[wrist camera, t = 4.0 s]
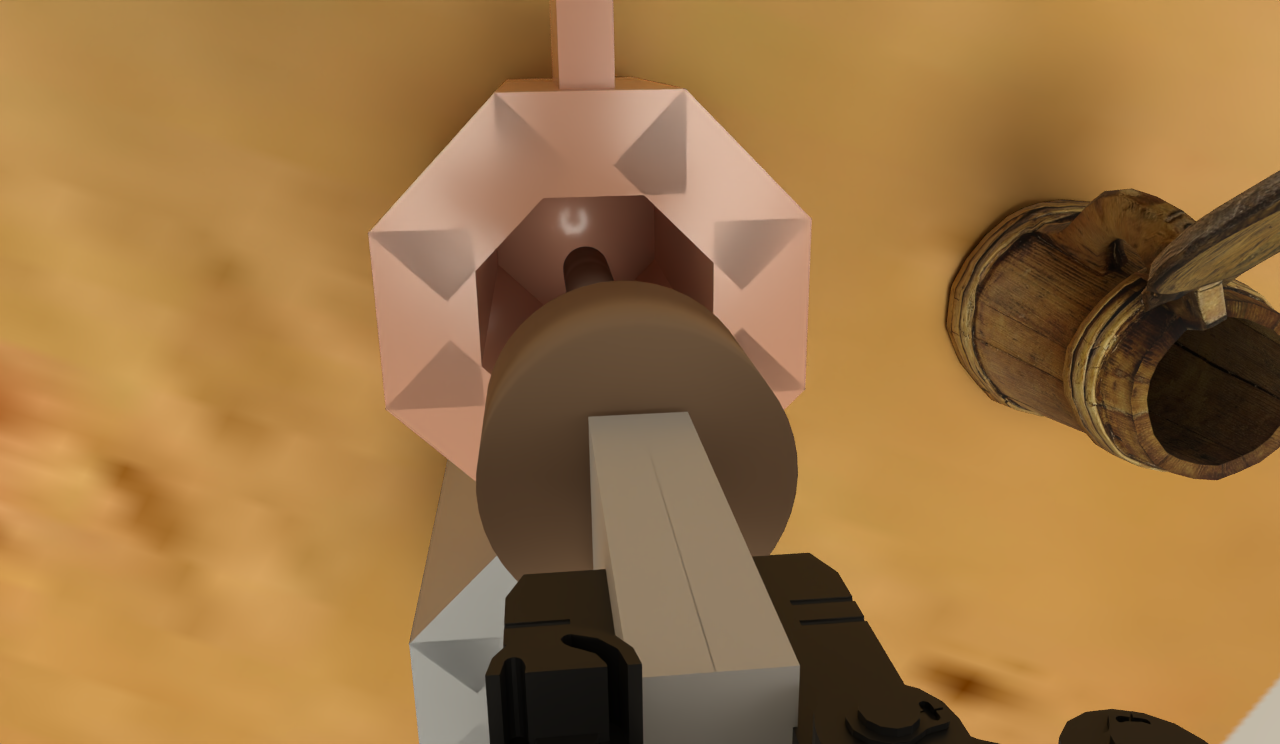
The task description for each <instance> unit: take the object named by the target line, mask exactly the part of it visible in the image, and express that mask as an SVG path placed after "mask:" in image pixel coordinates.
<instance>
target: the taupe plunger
mask: <svg viewBox="0 0 1280 744" xmlns="http://www.w3.org/2000/svg"><path fill="white" fill-rule="evenodd" d="M563 273H564V280H565V287H566V293H565V294H563V295H561V296H559V297H557V298H555V299H553V300H551V301H549V302H548V303H546V304H545V305H544V306H542V307H541V308H539V309H538V310H537V311H535V312H534V313H533V314H532V315H531V316H529V317H528V318H527V319H526V320H525V321H524V322H523V323H522V324H521V325H520V326H519V327H518V329H517V330H516V331H515V332H514V333H513V335H512V336H511V337H510V338H509V340H508V341H507V343H506V345H505V346H504V348H503V349H502V351H501V353H500V354H499V357H498V359H497V361H496V363H495V366H494V368H493V370H492V374H491V377H490V381H489V384H488V389H487V396H486V403H485V411H484V418H483V426H482V433H481V440H480V448H479V455H478V463H477V470H476V496H477V503H478V510H479V515H480V518H481V521H482V525H483V528H484V531H485V534H486V536H487V538H488V540H489V542H490V544H491V547H492V549H493V550H494V552H495V553H496V555H497V556H498V558H499V560H500V561H501V563H502V564H503V566H504V567H505V568H506V569H507V570H508V571H509V573H510V574H511V575H512V576H513V577H514V578H515V580H517V581H519V580H520V579H521V577H522V576H523V575H524V574H537V573H552V572H568V571H583V570H593V543H592V513H591V483H590V453H589V423H588V417H592V416H612V415H631V414H651V413H671V412H688V413H689V416H690V418H691V420H692V423H693V425H694V427H695V429H696V432H697V434H698V436H699V438H700V441H701V443H702V445H703V447H704V450H705V452H706V454H707V456H708V459H709V461H710V463H711V466H712V468H713V470H714V472H715V475H716V477H717V479H718V481H719V484H720V486H721V488H722V490H723V493H724V495H725V497H726V499H727V502H728V504H729V506H730V508H731V511H732V513H733V515H734V518H735V520H736V522H737V524H738V527H739V529H740V531H741V533H742V536H743V538H744V540H745V542H746V545H747V547H748V549H749V551H750V554H751V556H767V555H770V553H771V552H772V551H773V549H774V548H775V546H776V544H777V543H778V541H779V539H780V537H781V535H782V533H783V532H784V529H785V527H786V524H787V522H788V519H789V517H790V514H791V511H792V507H793V503H794V499H795V495H796V487H797V477H798V467H797V452H796V446H795V441H794V436H793V433H792V430H791V427H790V424H789V421H788V418H787V416H786V414H785V412H784V410H783V408H782V406H781V404H780V402H779V400H778V399H777V397H776V396H775V394H774V393H773V391H772V390H771V388H770V387H769V386H768V384H767V383H766V381H765V380H764V379H763V377H762V376H761V374H760V373H759V372H758V370H757V369H756V367H755V366H754V365H753V363H752V362H751V360H750V359H749V358H748V356H747V355H746V353H745V352H744V350H743V349H742V348H741V346H740V345H739V343H738V342H737V341H736V339H735V338H734V336H733V335H732V334H731V332H730V331H729V329H728V328H727V327H726V326H725V325H724V324H723V323H722V322H721V321H720V320H719V319H718V317H717V316H715V315H714V314H713V313H712V312H711V311H709V310H708V309H707V308H706V307H705V306H703V305H702V304H700V303H698V302H697V301H695V300H694V299H692V298H690V297H689V296H687V295H684V294H682V293H680V292H678V291H675V290H673V289H670V288H667V287H664V286H660V285H657V284H652V283H646V282H639V281H614V279H613V277H612V274H611V271H610V268H609V265H608V263H607V260H606V258H605V256H604V255H603V254H602V253H601V252H600V251H599V250H597V249H595V248H593V247H588V246H584V247H579V248H576V249H574V250H573V251H571V252H570V253H569V254H568V256H567V257H566V259H565V261H564V265H563Z"/></svg>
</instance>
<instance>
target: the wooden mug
mask: <svg viewBox="0 0 1280 744" xmlns="http://www.w3.org/2000/svg"><path fill="white" fill-rule="evenodd" d="M1279 252H1280V171H1278V172H1276V173H1275V174H1273V175H1271V176H1270V177H1268V178H1266V179H1265V180H1263V181H1261V182H1260V183H1258V184H1256V185H1254V186H1253V187H1251V188H1249V189H1248V190H1246V191H1244V192H1243V193H1241V194H1239V195H1238V196H1236V197H1234V198H1233V199H1231V200H1229V201H1228V202H1226V203H1224V204H1223V205H1221V206H1219V207H1218V208H1216V209H1214V210H1213V211H1211V212H1210V213H1208V214H1207V215H1205V216H1204V217H1202V218H1201V219H1199V220H1198V221H1195V220H1194V219H1192V218H1191V217H1190V216H1189V215H1187V214H1186V213H1185V212H1184V211H1182V210H1180V209H1178V208H1177V207H1175V206H1173V205H1171V204H1169V203H1167V202H1166V201H1164V200H1162V199H1160V198H1158V197H1156V196H1153V195H1150V194H1147V193H1144V192H1141V191H1138V190H1134V189H1123V190H1113V191H1104V192H1103V193H1102V194H1100V195H1099V196H1098V197H1097V198H1095V199H1094V200H1093V201H1091V202H1083V201H1071V200H1057V201H1049V202H1041V203H1038V204H1035V205H1031V206H1028V207H1024V208H1022V209H1020V210H1018V211H1016V212H1015V213H1013V214H1011V215H1009V216H1007V217H1006V218H1005V219H1004V220H1003V221H1002V222H1000V223H999V224H998V225H997V226H996V227H995V228H993V229H992V230H991V231H990V232H989V233H988V234H986V235H985V237H984V238H983V239H982V240H981V241H980V243H979V244H978V245H977V246H976V248H975V249H974V250H973V251H972V253H971V254H970V255H969V256H968V257H967V259H966V260H965V262H964V264H963V266H962V267H961V269H960V271H959V273H958V275H957V277H956V279H955V280H954V282H953V284H952V286H951V291H950V300H949V309H948V317H947V326H946V327H947V330H948V333H949V335H950V338H951V341H952V344H953V347H954V349H955V351H956V354H957V356H958V358H959V360H960V363H961V364H962V365H963V367H964V368H965V369H966V370H967V372H968V373H969V374H970V375H971V377H972V378H973V379H974V380H975V382H976V383H977V384H978V385H979V386H980V387H981V388H982V390H983V391H984V392H985V393H986V394H987V395H988V396H989V397H990V398H991V400H993V401H996V402H998V403H1001V404H1003V405H1006V406H1008V407H1011V408H1013V409H1016V410H1018V411H1022V412H1026V413H1030V414H1034V415H1038V416H1045V417H1048V418H1050V419H1053V420H1055V421H1058V422H1060V423H1062V424H1065V425H1067V426H1070V427H1072V428H1074V429H1077V430H1079V431H1082V432H1084V433H1086V434H1087V435H1088V436H1089V437H1090V439H1091V440H1092V441H1093V442H1094V443H1095V444H1096V445H1098V446H1099V447H1101V448H1103V449H1104V450H1106V451H1108V452H1109V453H1111V454H1113V455H1115V456H1117V457H1119V458H1121V459H1123V460H1126V461H1128V462H1130V463H1132V464H1134V465H1137V466H1140V467H1144V468H1148V469H1153V470H1157V471H1161V472H1171V473H1175V474H1178V475H1182V476H1186V477H1189V478H1193V479H1207V480H1219V479H1221V478H1224V477H1227V476H1229V475H1232V474H1235V473H1237V472H1240V471H1242V470H1244V469H1246V468H1248V467H1250V466H1253V465H1255V464H1257V463H1259V462H1261V461H1262V460H1263V459H1265V458H1266V457H1267V456H1269V455H1270V454H1271V453H1273V452H1274V451H1275V450H1277V449H1278V448H1279V447H1280V313H1278V312H1277V311H1275V310H1274V308H1273V307H1272V306H1271V305H1270V304H1269V303H1268V301H1267V300H1266V299H1265V298H1264V297H1263V296H1262V295H1261V294H1259V293H1258V292H1256V291H1255V290H1253V289H1252V288H1250V287H1249V286H1247V285H1246V284H1244V283H1242V282H1239V281H1237V280H1235V278H1237V277H1238V276H1239V275H1241V274H1242V273H1244V272H1246V271H1247V270H1249V269H1251V268H1253V267H1254V266H1256V265H1258V264H1259V263H1261V262H1263V261H1264V260H1266V259H1268V258H1270V257H1272V256H1273V255H1275V254H1277V253H1279Z"/></svg>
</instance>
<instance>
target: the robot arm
mask: <svg viewBox="0 0 1280 744" xmlns="http://www.w3.org/2000/svg"><path fill="white" fill-rule="evenodd" d="M588 423H589V453H590V483H591V513H592V543H593V570H583V571H568V572H552V573H537V574H524V575H523V576H522V577H521V579H520V580H519V581H518V582H517V584H516V585H515V586H514V587H513V589H512V590H511V591H510V592H509V594H508V595H507V596H506V598H505V616H504V636H503V649H502V650H500V651H499V652H498V653H497V654H496V655H495V656H494V657H493V658H492V659H491V662H490V664H489V667H488V669H487V672H486V674H485V684H486V697H487V711H488V725H489V738H490V744H998V743H993V742H989V741H984V740H979V739H976V738H974V737H971V736H970V735H969V733H968V732H967V730H966V728H965V727H964V725H963V724H962V722H961V721H960V719H959V718H958V717H957V716H956V715H955V714H954V713H953V712H952V711H951V710H950V709H949V708H948V707H947V706H946V704H945V703H944V702H942V701H941V700H939V699H937V698H935V697H933V696H932V695H930V694H928V693H926V692H924V691H922V690H921V689H918V688H915V687H911V686H907V685H905V684H904V683H903V681H902V679H901V678H900V676H899V674H898V673H897V671H896V669H895V667H894V666H893V664H892V662H891V661H890V659H889V657H888V656H887V654H886V652H885V651H884V649H883V647H882V646H881V644H880V642H879V641H878V639H877V637H876V636H875V634H874V632H873V631H872V629H871V627H870V626H869V624H868V622H867V621H864V615H863V614H862V612H861V610H860V609H859V607H858V605H857V604H856V602H855V601H852V595H851V594H850V592H849V590H848V589H847V587H846V585H845V584H844V582H843V580H842V579H841V577H840V575H839V574H838V572H837V571H835V570H834V569H832V568H831V567H829V566H828V565H826V564H825V563H823V562H822V561H820V560H819V559H818V558H816V557H815V556H813V555H812V554H810V553H798V554H783V555H767V556H751V554H750V551H749V549H748V547H747V545H746V542H745V540H744V538H743V536H742V533H741V531H740V529H739V527H738V524H737V522H736V520H735V518H734V515H733V513H732V511H731V508H730V506H729V504H728V502H727V499H726V497H725V495H724V493H723V490H722V488H721V486H720V484H719V481H718V479H717V477H716V475H715V472H714V470H713V468H712V466H711V463H710V461H709V459H708V456H707V454H706V452H705V450H704V447H703V445H702V443H701V441H700V438H699V436H698V434H697V432H696V429H695V427H694V425H693V423H692V420H691V418H690V416H689V413H688V412H671V413H651V414H631V415H612V416H592V417H588ZM1058 744H1208V743H1207V742H1205V741H1204V740H1202V739H1201V738H1199V737H1197V736H1195V735H1194V734H1192V733H1190V732H1188V731H1187V730H1185V729H1183V728H1181V727H1180V726H1178V725H1176V724H1174V723H1171V722H1168V721H1165V720H1162V719H1159V718H1156V717H1153V716H1150V715H1147V714H1144V713H1139V712H1133V711H1123V710H1116V709H1108V710H1099V711H1090V712H1085V713H1083V714H1081V715H1079V716H1077V717H1075V718H1073V719H1071V720H1070V721H1068V722H1067V723H1066V725H1065V727H1064V729H1063V731H1062V733H1061V735H1060V737H1059V743H1058Z"/></svg>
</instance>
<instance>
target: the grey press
mask: <svg viewBox="0 0 1280 744" xmlns="http://www.w3.org/2000/svg"><path fill="white" fill-rule="evenodd" d="M517 582H518V581H517V580H515V578H514V577H513V576H512V575H511V574H510V573H509V571H508V570H507V569H506V568H505V567H504V566H503V564H502V563H501V561H500V560H499V558H498V556H497V555H496V553H495V552H494V550H493V549H492V547H491V544H490V542H489V540H488V538H487V536H486V534H485V531H484V528H483V525H482V521H481V518H480V515H479V510H478V503H477V496H476V481H475V480H473V479H472V478H471V477H470V476H468V475H467V474H466V473H465V472H463V471H462V470H461V469H460V468H458V467H457V466H456V465H455V464H453V463H452V462H451V461H450V460H447V465H446V469H445V474H444V479H443V484H442V489H441V493H440V498H439V503H438V508H437V512H436V517H435V522H434V527H433V532H432V536H431V541H430V546H429V551H428V555H427V560H426V565H425V570H424V575H423V579H422V584H421V589H420V594H419V598H418V603H417V608H416V613H415V618H414V622H413V627H412V632H411V637H410V641H409V645H410V655H411V665H412V675H413V685H414V695H415V705H416V715H417V725H418V735H419V744H490V738H489V725H488V711H487V697H486V684H485V674H486V672H487V669H488V667H489V664H490V662H491V659H492V658H493V657H494V656H495V655H496V654H497V653H498V652H499V651H500V650H502V649H503V636H504V616H505V598H506V596H507V595H508V594H509V592H510V591H511V590H512V589H513V587H514V586H515V585H516V584H517Z"/></svg>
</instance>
